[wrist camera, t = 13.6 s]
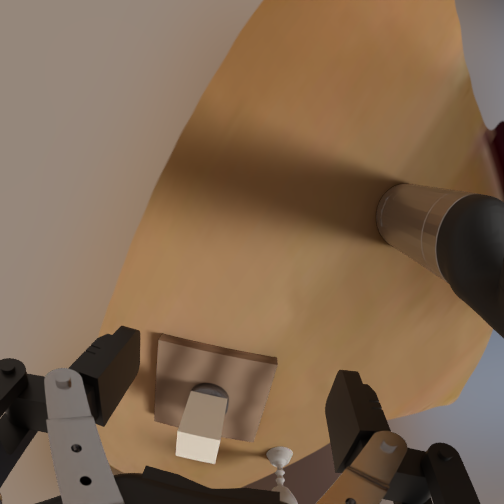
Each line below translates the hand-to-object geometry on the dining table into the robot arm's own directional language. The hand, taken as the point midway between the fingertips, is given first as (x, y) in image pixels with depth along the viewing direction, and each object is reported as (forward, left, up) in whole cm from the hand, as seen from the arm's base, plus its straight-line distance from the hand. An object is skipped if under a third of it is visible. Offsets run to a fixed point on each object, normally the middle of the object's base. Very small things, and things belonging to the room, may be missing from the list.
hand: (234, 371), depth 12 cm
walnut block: (+2, +28, -32) cm, 42 cm away
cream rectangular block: (+2, +28, -27) cm, 39 cm away
